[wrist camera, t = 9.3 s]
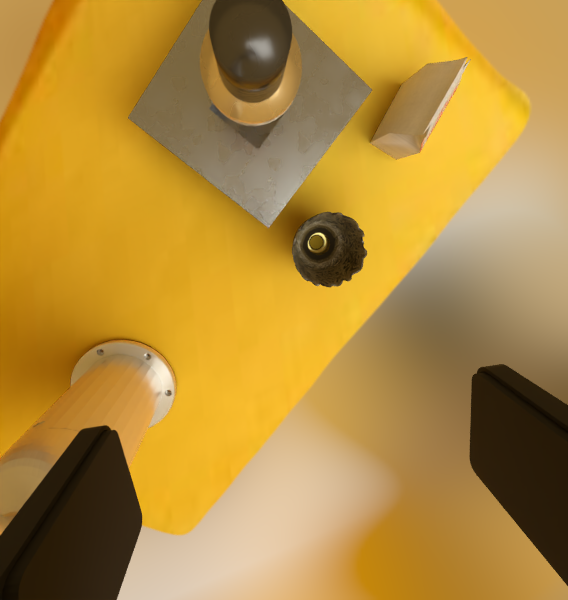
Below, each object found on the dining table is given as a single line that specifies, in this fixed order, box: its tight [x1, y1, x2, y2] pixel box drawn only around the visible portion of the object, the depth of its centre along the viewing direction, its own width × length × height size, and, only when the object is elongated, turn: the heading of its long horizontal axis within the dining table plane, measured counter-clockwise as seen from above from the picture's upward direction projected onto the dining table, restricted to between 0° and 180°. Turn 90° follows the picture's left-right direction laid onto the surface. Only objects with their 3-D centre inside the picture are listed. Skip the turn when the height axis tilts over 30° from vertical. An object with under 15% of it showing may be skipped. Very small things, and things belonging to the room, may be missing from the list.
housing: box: [128, 0, 372, 228], centre depth 35 cm, size 16×16×6 cm
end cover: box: [200, 0, 302, 126], centre depth 24 cm, size 7×7×11 cm
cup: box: [292, 212, 367, 287], centre depth 38 cm, size 8×7×8 cm
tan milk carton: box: [370, 57, 471, 160], centre depth 35 cm, size 4×7×10 cm, turn 152°
